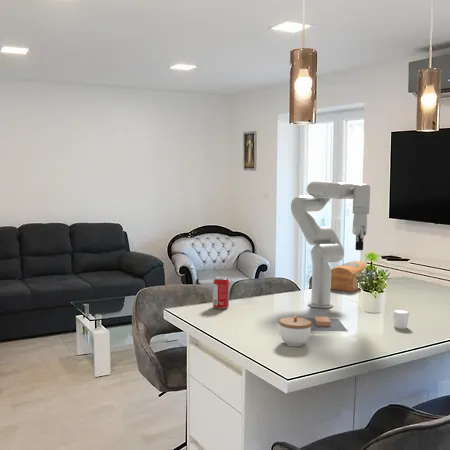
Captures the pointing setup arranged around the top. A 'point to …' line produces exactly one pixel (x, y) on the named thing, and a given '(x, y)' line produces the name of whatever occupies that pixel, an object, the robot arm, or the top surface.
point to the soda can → (221, 293)
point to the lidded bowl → (295, 330)
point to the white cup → (400, 318)
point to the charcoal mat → (335, 326)
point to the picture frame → (322, 321)
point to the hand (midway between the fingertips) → (359, 249)
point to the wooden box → (346, 276)
